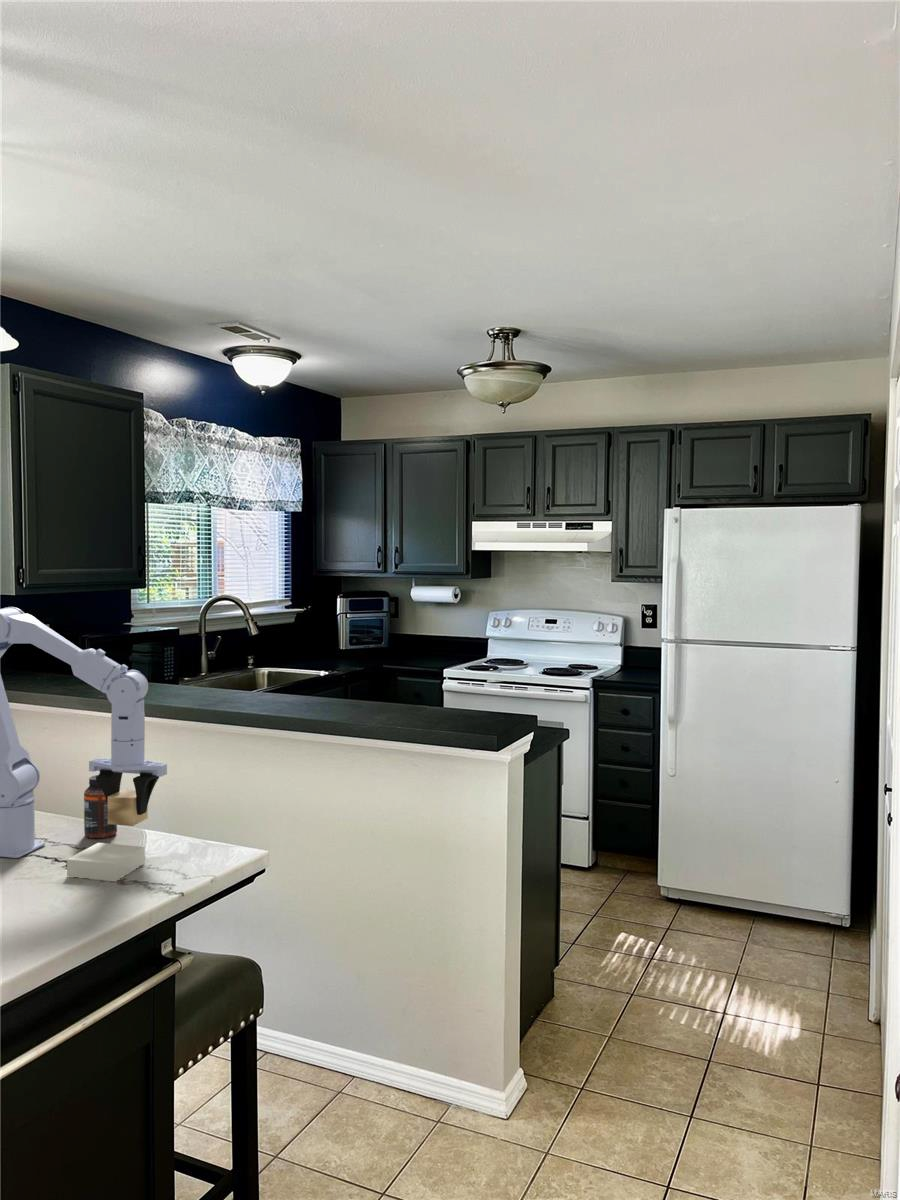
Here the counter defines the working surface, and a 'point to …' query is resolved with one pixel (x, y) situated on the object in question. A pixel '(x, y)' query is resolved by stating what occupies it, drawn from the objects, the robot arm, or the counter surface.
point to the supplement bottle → (96, 812)
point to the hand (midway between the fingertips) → (127, 812)
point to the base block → (105, 861)
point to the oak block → (124, 809)
